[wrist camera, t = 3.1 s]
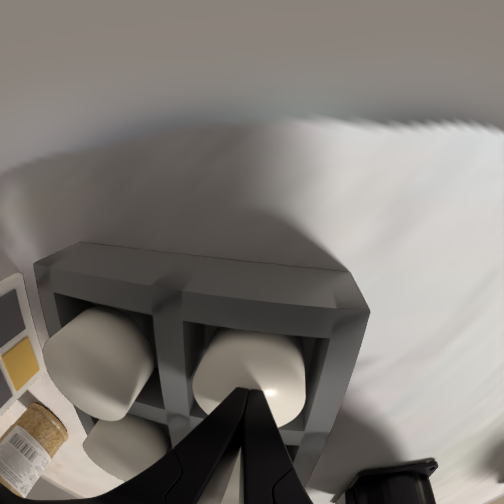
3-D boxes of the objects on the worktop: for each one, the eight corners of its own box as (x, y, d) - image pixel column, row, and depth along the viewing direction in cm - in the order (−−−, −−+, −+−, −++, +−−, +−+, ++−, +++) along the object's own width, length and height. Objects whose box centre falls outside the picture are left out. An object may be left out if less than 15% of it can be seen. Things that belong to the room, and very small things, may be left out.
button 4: (150, 315, 9) (115, 354, 7) (159, 391, 10) (136, 432, 8) (71, 297, 10) (32, 325, 7) (88, 369, 11) (59, 401, 8)
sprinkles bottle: (26, 405, 18) (-48, 490, 5) (40, 397, 17) (-46, 497, 4) (59, 440, 19) (-4, 529, 6) (78, 436, 17) (6, 542, 5)
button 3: (164, 418, 11) (145, 458, 9) (173, 458, 12) (159, 493, 10) (97, 397, 11) (72, 428, 9) (113, 439, 12) (95, 469, 10)
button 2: (311, 318, 10) (315, 359, 8) (296, 392, 11) (295, 435, 9) (210, 306, 10) (189, 343, 8) (210, 381, 11) (195, 421, 9)
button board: (350, 272, 11) (370, 310, 8) (300, 454, 14) (299, 497, 11) (79, 242, 12) (33, 263, 9) (116, 418, 15) (95, 451, 12)
